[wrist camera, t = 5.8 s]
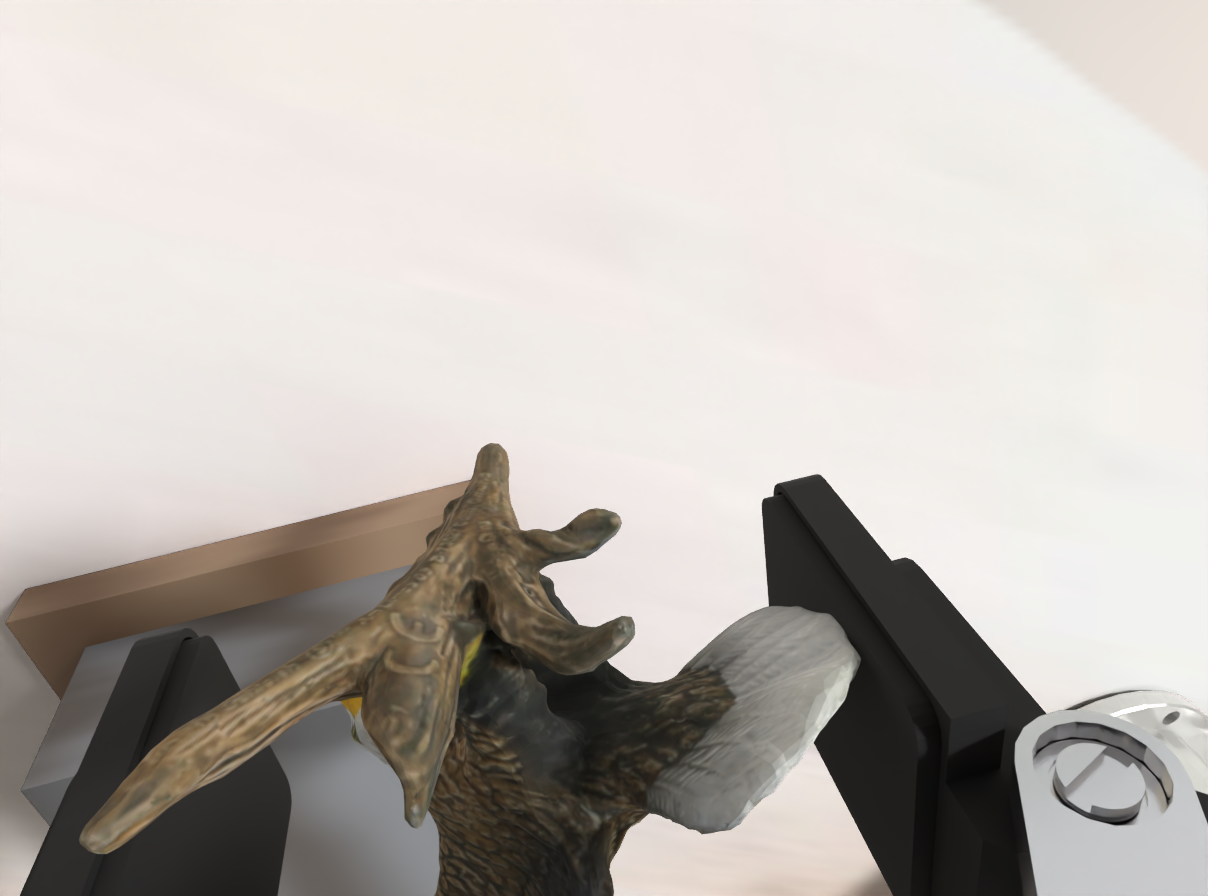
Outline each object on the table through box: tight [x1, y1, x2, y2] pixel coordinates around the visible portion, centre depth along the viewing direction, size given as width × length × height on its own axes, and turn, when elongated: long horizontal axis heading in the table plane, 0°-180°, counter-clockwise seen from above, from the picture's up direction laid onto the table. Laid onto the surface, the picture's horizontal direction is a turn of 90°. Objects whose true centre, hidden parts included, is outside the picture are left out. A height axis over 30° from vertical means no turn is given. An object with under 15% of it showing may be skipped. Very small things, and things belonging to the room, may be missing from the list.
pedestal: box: [5, 480, 471, 896], centre depth 27 cm, size 14×16×6 cm
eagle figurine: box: [79, 443, 861, 896], centre depth 10 cm, size 8×7×9 cm
